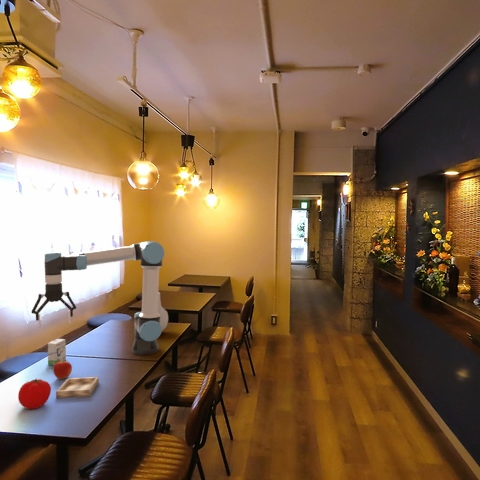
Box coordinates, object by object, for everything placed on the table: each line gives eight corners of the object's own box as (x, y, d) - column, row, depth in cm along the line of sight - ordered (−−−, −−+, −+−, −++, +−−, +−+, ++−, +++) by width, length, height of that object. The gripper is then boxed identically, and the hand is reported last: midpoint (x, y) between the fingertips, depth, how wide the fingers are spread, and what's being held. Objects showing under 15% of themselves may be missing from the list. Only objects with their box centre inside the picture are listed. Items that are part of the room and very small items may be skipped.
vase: (165, 337, 249) (164, 295, 248) (140, 337, 250) (139, 295, 248) (170, 330, 266) (169, 290, 265) (147, 330, 266) (146, 290, 265)
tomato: (16, 415, 149) (15, 387, 149) (20, 402, 160) (19, 376, 159) (50, 409, 154) (49, 382, 153) (52, 397, 164) (51, 372, 164)
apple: (50, 378, 185) (50, 358, 184) (67, 373, 190) (67, 354, 190) (57, 383, 179) (56, 362, 179) (74, 378, 185) (74, 357, 185)
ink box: (58, 359, 211) (57, 338, 211) (66, 359, 210) (65, 338, 210) (47, 365, 203) (46, 343, 202) (56, 365, 202) (55, 343, 201)
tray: (98, 383, 179) (98, 376, 178) (89, 396, 165) (89, 389, 165) (67, 384, 177) (67, 378, 177) (56, 398, 163) (55, 391, 163)
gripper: (79, 280, 201) (80, 320, 201) (25, 284, 188) (26, 326, 189) (81, 281, 194) (82, 323, 195) (25, 286, 182) (26, 330, 183)
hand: (54, 325), depth 192 cm, fingers open, 13 cm apart
